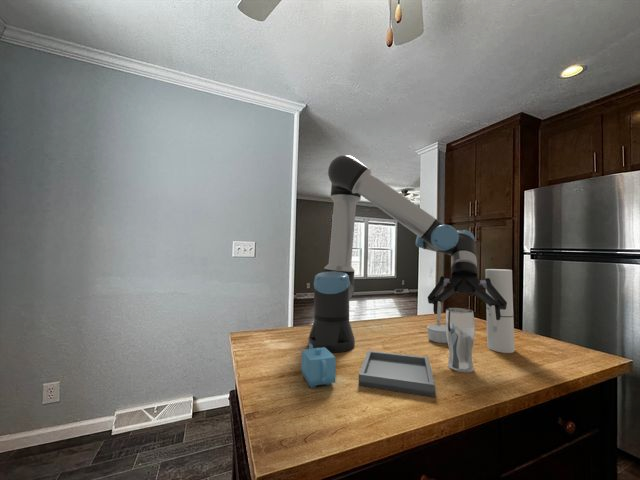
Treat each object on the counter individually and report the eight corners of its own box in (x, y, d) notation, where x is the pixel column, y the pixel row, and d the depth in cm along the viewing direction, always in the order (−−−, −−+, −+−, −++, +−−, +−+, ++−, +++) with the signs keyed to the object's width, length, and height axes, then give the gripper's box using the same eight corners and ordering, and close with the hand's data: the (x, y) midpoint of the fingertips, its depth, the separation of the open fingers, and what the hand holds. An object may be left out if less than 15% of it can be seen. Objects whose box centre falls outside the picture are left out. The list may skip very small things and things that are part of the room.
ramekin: (421, 338, 97) (421, 325, 97) (439, 335, 100) (439, 323, 101) (442, 345, 89) (442, 332, 89) (460, 342, 92) (460, 329, 93)
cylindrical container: (505, 345, 89) (503, 269, 90) (519, 353, 82) (517, 270, 83) (483, 344, 90) (481, 269, 91) (494, 352, 83) (492, 270, 84)
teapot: (297, 371, 69) (298, 340, 69) (320, 367, 71) (320, 338, 71) (311, 394, 57) (312, 358, 58) (338, 389, 59) (338, 354, 60)
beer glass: (472, 364, 73) (471, 308, 74) (478, 375, 67) (477, 313, 68) (444, 361, 76) (443, 306, 76) (447, 371, 69) (446, 311, 70)
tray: (358, 385, 61) (358, 374, 61) (367, 359, 76) (367, 350, 76) (435, 397, 56) (435, 384, 56) (428, 366, 72) (428, 357, 72)
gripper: (509, 277, 84) (520, 339, 70) (424, 274, 96) (419, 327, 82) (511, 260, 80) (523, 324, 66) (422, 259, 92) (416, 313, 78)
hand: (465, 326), depth 74 cm, fingers open, 13 cm apart
